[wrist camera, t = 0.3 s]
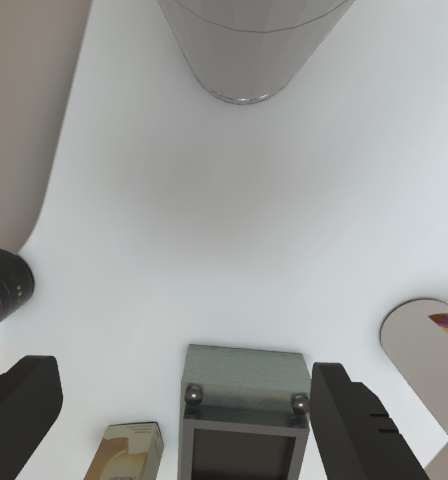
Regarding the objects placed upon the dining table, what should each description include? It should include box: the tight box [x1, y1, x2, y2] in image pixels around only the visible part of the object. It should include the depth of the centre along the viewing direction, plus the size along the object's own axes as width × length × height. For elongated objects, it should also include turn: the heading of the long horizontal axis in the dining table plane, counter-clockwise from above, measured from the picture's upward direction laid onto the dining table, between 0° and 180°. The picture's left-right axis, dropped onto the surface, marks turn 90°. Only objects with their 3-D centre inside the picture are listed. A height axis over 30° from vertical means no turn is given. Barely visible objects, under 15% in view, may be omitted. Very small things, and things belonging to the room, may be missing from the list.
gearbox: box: [177, 344, 311, 480], centre depth 29 cm, size 16×12×6 cm
